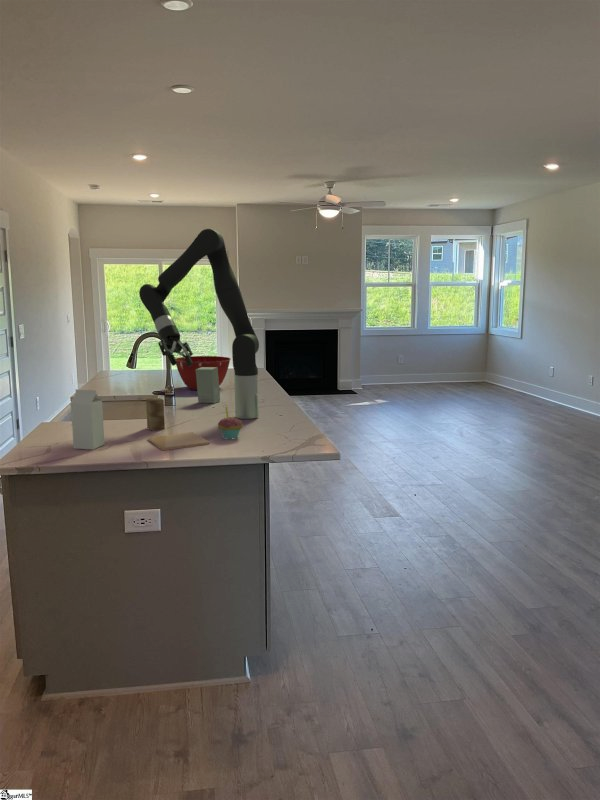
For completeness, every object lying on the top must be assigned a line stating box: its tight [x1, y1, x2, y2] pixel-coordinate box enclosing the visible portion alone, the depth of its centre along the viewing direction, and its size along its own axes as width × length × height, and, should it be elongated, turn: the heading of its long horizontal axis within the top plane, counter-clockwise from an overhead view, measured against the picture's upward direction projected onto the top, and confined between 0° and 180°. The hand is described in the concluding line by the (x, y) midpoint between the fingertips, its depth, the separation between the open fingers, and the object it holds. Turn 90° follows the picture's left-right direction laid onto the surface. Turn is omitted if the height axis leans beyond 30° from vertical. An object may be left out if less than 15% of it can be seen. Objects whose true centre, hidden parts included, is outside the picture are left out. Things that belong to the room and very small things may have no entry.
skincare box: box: [196, 367, 221, 404], centre depth 278 cm, size 8×7×16 cm
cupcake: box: [217, 406, 243, 440], centre depth 214 cm, size 9×8×12 cm
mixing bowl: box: [175, 355, 232, 391], centre depth 317 cm, size 28×28×16 cm
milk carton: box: [70, 389, 105, 450], centre depth 201 cm, size 7×7×19 cm
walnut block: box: [145, 397, 166, 431], centre depth 228 cm, size 5×5×11 cm
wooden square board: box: [147, 431, 210, 451], centre depth 209 cm, size 16×16×1 cm
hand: (182, 365), depth 235 cm, fingers open, 8 cm apart
